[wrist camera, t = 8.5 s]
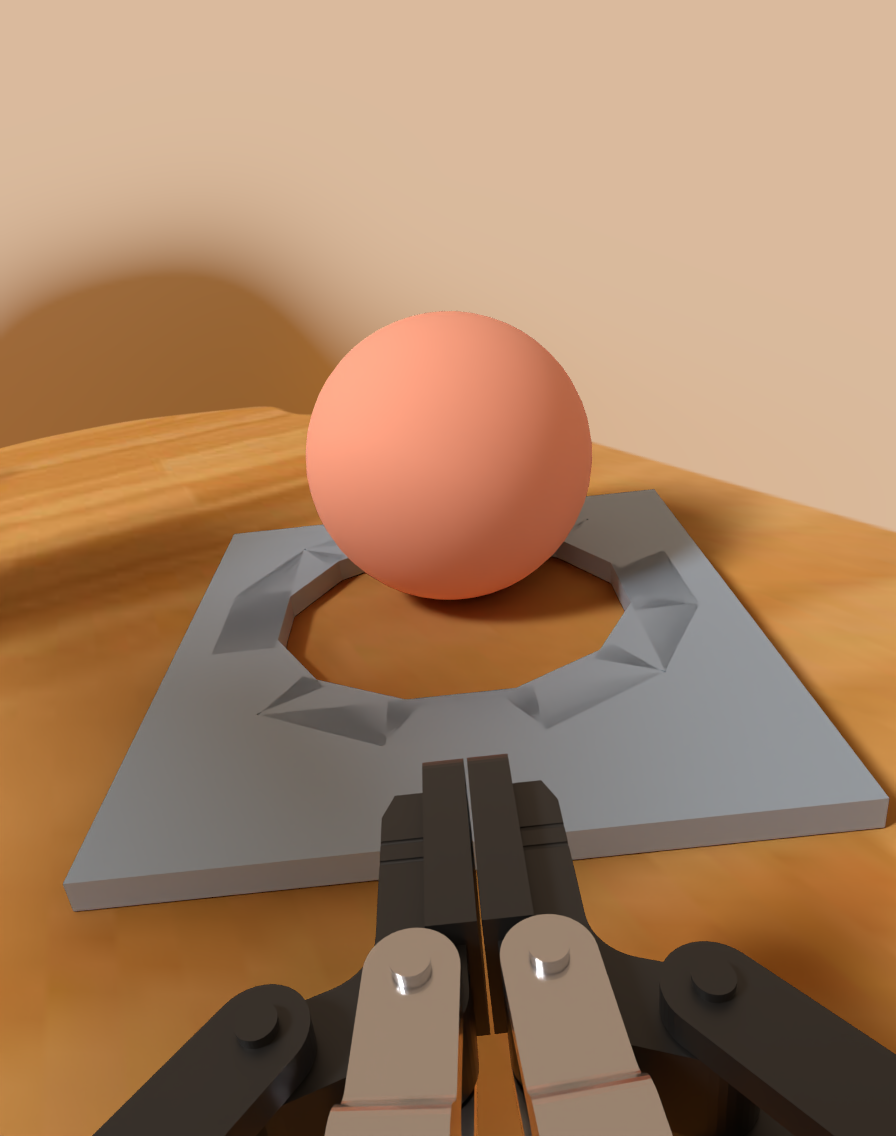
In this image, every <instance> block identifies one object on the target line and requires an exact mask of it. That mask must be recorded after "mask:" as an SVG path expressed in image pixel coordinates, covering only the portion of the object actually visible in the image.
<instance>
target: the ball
mask: <svg viewBox="0 0 896 1136" xmlns="http://www.w3.org/2000/svg"><path fill="white" fill-rule="evenodd" d="M591 465H592V443H591V438H590V431H589V425H588V420H587V416H586V413H585V410H584V407H583V404H582V401H581V399H580V397H579V395H578V393H577V391H576V389H575V387H574V385H573V383H572V381H571V379H570V378H569V376H568V375H567V373H566V372H565V371H564V369H563V368H562V366H561V365H560V364H559V363H558V362H557V361H556V360H555V358H554V357H553V356H552V355H551V354H550V353H549V352H548V351H547V350H546V349H545V348H543V347H542V346H541V345H540V344H539V343H538V342H536V341H535V340H534V339H533V338H531V337H530V336H528V335H527V334H525V333H524V332H522V331H521V330H519V329H517V328H515V327H513V326H511V325H509V324H507V323H504V322H502V321H499V320H496V319H493V318H490V317H487V316H483V315H478V314H474V313H467V312H458V311H439V312H430V313H424V314H419V315H414V316H410V317H407V318H404V319H402V320H399V321H396V322H394V323H392V324H390V325H388V326H386V327H384V328H381V329H379V330H378V331H376V332H374V333H373V334H371V335H370V336H368V337H367V338H365V339H364V340H363V341H361V342H360V343H359V344H358V345H356V346H355V347H354V348H353V349H352V350H351V351H350V352H349V353H348V354H347V355H346V356H345V357H344V358H343V359H342V360H341V361H340V363H339V364H338V366H337V367H336V368H335V369H334V371H333V372H332V374H331V375H330V376H329V378H328V379H327V381H326V383H325V384H324V386H323V388H322V390H321V392H320V394H319V396H318V399H317V402H316V404H315V406H314V409H313V413H312V416H311V420H310V424H309V428H308V433H307V444H306V467H307V477H308V482H309V487H310V492H311V495H312V498H313V501H314V504H315V507H316V510H317V512H318V515H319V517H320V519H321V521H322V523H323V525H324V526H325V528H326V530H327V532H328V533H329V534H330V536H331V537H332V539H333V540H334V541H335V543H336V544H337V546H338V547H339V548H340V550H341V551H342V552H343V553H344V554H345V555H346V556H347V557H348V558H349V559H350V560H351V561H352V562H353V563H354V564H355V565H357V566H358V567H359V568H360V569H362V570H363V571H364V572H365V573H367V574H368V575H370V576H371V577H373V578H375V579H377V580H378V581H380V582H382V583H383V584H385V585H387V586H389V587H392V588H394V589H396V590H399V591H401V592H404V593H408V594H411V595H415V596H418V597H424V598H431V599H444V600H457V599H466V598H474V597H478V596H483V595H487V594H491V593H494V592H496V591H499V590H502V589H504V588H507V587H509V586H511V585H513V584H515V583H516V582H518V581H520V580H522V579H524V578H525V577H527V576H528V575H529V574H531V573H532V572H534V571H535V570H536V569H538V568H539V567H540V566H541V565H542V564H543V563H544V562H545V561H546V560H547V559H549V558H550V557H551V556H552V555H553V554H554V553H555V552H556V550H557V549H558V548H559V547H560V545H561V544H562V543H563V542H564V541H565V539H566V538H567V536H568V534H569V533H570V531H571V529H572V528H573V526H574V525H575V522H576V520H577V518H578V516H579V514H580V511H581V509H582V507H583V504H584V502H585V498H586V494H587V491H588V487H589V481H590V473H591Z"/></svg>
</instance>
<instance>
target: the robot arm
mask: <svg viewBox="0 0 896 1136" xmlns="http://www.w3.org/2000/svg"><path fill="white" fill-rule="evenodd" d="M467 766H468V777H469V788H470V799H471V810H472V820H473V831H474V842H475V853H476V864H477V875H478V885H479V896H480V907H481V918H482V927H483V936H484V944H485V953H486V962H487V970H488V979H489V988H490V996H491V1005H492V1013H493V1022H494V1031H495V1034H499V1033H508V1040H509V1049H510V1058H511V1066H512V1075H513V1085H514V1092H515V1097H516V1102H517V1108H518V1113H519V1118H520V1124H521V1129H522V1134H523V1136H896V1054H894V1053H893V1052H891V1051H890V1050H888V1049H887V1048H885V1047H884V1046H882V1045H881V1044H879V1043H878V1042H876V1041H875V1040H873V1039H872V1038H870V1037H869V1036H867V1035H866V1034H864V1033H863V1032H861V1031H860V1030H858V1029H857V1028H855V1027H854V1026H852V1025H851V1024H849V1023H847V1022H846V1021H844V1020H843V1019H841V1018H840V1017H838V1016H837V1015H835V1014H834V1013H832V1012H831V1011H829V1010H828V1009H826V1008H825V1007H823V1006H822V1005H820V1004H819V1003H817V1002H816V1001H814V1000H813V999H811V998H810V997H808V996H807V995H805V994H804V993H802V992H801V991H799V990H798V989H796V988H795V987H793V986H792V985H790V984H789V983H787V982H786V981H784V980H783V979H781V978H780V977H778V976H777V975H775V974H774V973H772V972H771V971H769V970H768V969H766V968H765V967H763V966H762V965H760V964H758V963H757V962H755V961H754V960H752V959H751V958H749V957H748V956H746V955H745V954H743V953H742V952H740V951H738V950H736V949H735V948H732V947H730V946H727V945H724V944H720V943H716V942H708V941H699V942H693V943H688V944H685V945H682V946H681V947H679V948H677V949H675V950H674V951H673V952H671V953H670V954H669V955H668V956H667V958H666V959H665V961H664V962H660V961H655V960H650V959H644V958H639V957H634V956H630V955H627V954H624V953H622V952H619V951H617V950H615V949H613V948H612V947H610V946H608V945H607V944H606V943H604V942H603V941H602V940H601V939H600V938H599V937H598V936H596V934H595V933H594V932H593V930H592V929H591V928H590V926H589V924H588V922H587V919H586V916H585V913H584V908H583V904H582V900H581V895H580V891H579V887H578V883H577V878H576V874H575V870H574V865H573V861H572V857H571V853H570V848H569V846H568V840H567V835H566V831H565V827H564V823H563V818H562V814H561V810H560V805H559V801H558V798H557V797H556V796H555V795H554V794H553V793H552V792H551V791H550V789H549V788H548V787H547V786H546V785H545V784H544V783H543V782H542V780H537V781H528V782H518V783H512V777H511V771H510V765H509V759H508V754H498V755H488V756H479V757H470V758H467ZM422 791H423V793H416V794H407V795H397V796H394V798H393V800H392V801H391V803H390V805H389V806H388V808H387V810H386V811H385V813H384V815H383V817H382V822H381V846H380V866H379V884H378V904H377V925H376V939H375V945H374V947H373V948H372V950H371V951H370V953H369V954H368V956H367V958H366V960H365V962H364V966H363V967H362V969H361V970H360V971H359V972H358V973H357V974H356V975H354V976H353V977H352V978H351V979H350V980H348V981H346V982H345V983H343V984H342V985H340V986H338V987H336V988H334V989H331V990H329V991H327V992H324V993H322V994H319V995H317V996H314V997H312V998H310V999H307V1000H304V998H303V997H302V996H301V995H300V994H299V993H298V992H296V991H295V990H293V989H291V988H289V987H286V986H283V985H276V984H269V985H261V986H256V987H253V988H250V989H248V990H246V991H244V992H242V993H240V994H238V995H237V996H235V997H234V998H232V999H231V1000H230V1001H228V1002H227V1003H226V1004H225V1005H224V1006H223V1007H222V1008H221V1009H220V1010H219V1011H218V1012H217V1013H216V1014H215V1015H214V1016H213V1017H212V1018H211V1019H210V1020H209V1021H208V1022H207V1023H206V1024H205V1025H204V1026H203V1027H202V1028H201V1029H200V1030H199V1031H198V1032H197V1033H196V1034H195V1035H194V1036H193V1037H192V1038H191V1039H190V1040H188V1041H187V1042H186V1043H185V1044H184V1045H183V1046H182V1047H181V1048H180V1049H179V1050H178V1051H177V1052H176V1053H175V1054H174V1055H173V1056H172V1057H171V1058H170V1059H169V1060H168V1061H167V1062H166V1063H165V1064H164V1065H163V1066H162V1067H161V1068H160V1069H159V1070H158V1071H157V1072H156V1073H155V1074H154V1075H153V1076H152V1077H151V1078H150V1079H149V1080H148V1081H147V1082H146V1083H145V1084H144V1085H143V1086H142V1087H141V1088H140V1089H139V1090H138V1091H137V1092H136V1093H135V1094H134V1095H133V1096H132V1097H131V1098H130V1099H129V1100H128V1101H127V1102H126V1103H125V1104H124V1105H123V1106H122V1107H121V1108H120V1109H119V1110H118V1111H117V1112H116V1113H115V1114H114V1115H113V1116H112V1117H111V1118H110V1119H109V1120H108V1121H107V1122H106V1123H105V1124H104V1125H103V1126H102V1127H101V1128H100V1129H99V1130H98V1131H97V1132H96V1133H95V1134H94V1135H93V1136H477V1098H478V1092H477V1078H478V1073H479V1062H478V1049H477V1036H483V1035H490V1025H489V1014H488V1003H487V991H486V980H485V969H484V958H483V947H482V936H481V925H480V914H479V903H478V892H477V880H476V869H475V859H474V848H473V839H472V830H471V821H470V812H469V803H468V795H467V786H466V778H465V769H464V761H463V758H462V759H452V760H443V761H434V762H424V763H422Z"/></svg>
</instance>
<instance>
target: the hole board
mask: <svg viewBox="0 0 896 1136" xmlns="http://www.w3.org/2000/svg"><path fill="white" fill-rule="evenodd" d="M551 557H558V558H560V559H562V560H564V561H566V562H568V563H570V564H572V565H574V566H576V567H578V568H580V569H583V570H585V571H587V572H589V573H591V574H593V575H595V576H597V577H599V578H601V579H603V580H605V581H607V582H610V583H611V584H612V586H613V588H614V590H615V592H616V594H617V597H618V599H619V601H620V603H621V605H622V607H623V609H624V611H625V612H624V614H623V615H622V617H621V618H620V620H619V621H618V623H617V625H616V626H615V628H614V629H613V631H612V632H611V634H610V635H609V637H608V638H607V640H606V641H605V643H604V644H603V646H602V647H601V649H600V650H598V651H596V652H594V653H592V654H589V655H587V656H585V657H583V658H581V659H578V660H576V661H574V662H572V663H570V664H567V665H565V666H563V667H561V668H559V669H556V670H554V671H552V672H550V673H548V674H545V675H543V676H541V677H539V678H537V679H534V680H532V681H530V682H528V683H526V684H523V685H521V686H519V687H517V688H511V689H501V690H492V691H482V692H473V693H463V694H454V695H444V696H435V697H425V698H416V699H401V698H397V697H392V696H388V695H383V694H379V693H374V692H370V691H365V690H361V689H356V688H352V687H348V686H343V685H339V684H334V683H330V682H325V681H321V680H316V679H315V677H314V676H313V675H312V674H311V673H310V672H309V671H308V670H307V669H306V668H305V667H304V666H303V665H302V664H301V663H300V662H299V661H298V660H297V659H296V658H295V657H294V656H293V655H292V654H291V653H290V652H289V651H288V650H287V649H286V646H287V642H288V638H289V635H290V631H291V627H292V623H293V619H294V617H295V616H296V615H297V614H299V613H300V612H301V611H302V610H304V609H305V608H306V607H308V606H309V605H310V604H312V603H313V602H314V601H315V600H317V599H318V598H319V597H321V596H322V595H323V594H325V593H326V592H327V591H328V590H330V589H331V588H332V587H334V586H335V585H336V584H338V583H339V582H340V581H342V580H344V579H347V578H350V577H352V576H355V575H358V574H361V573H364V571H363V570H362V569H360V568H359V567H358V566H357V565H355V564H354V563H353V562H352V561H351V560H350V559H349V558H348V557H347V556H346V555H345V554H344V553H343V552H342V551H341V550H340V548H339V547H338V546H337V544H336V543H335V541H334V540H333V539H332V537H331V536H330V534H329V533H328V532H327V530H326V528H325V526H324V525H315V526H305V527H296V528H287V529H277V530H268V531H258V532H249V533H240V534H234V536H233V538H232V540H231V542H230V544H229V546H228V548H227V550H226V552H225V554H224V556H223V558H222V560H221V562H220V564H219V566H218V568H217V570H216V572H215V575H214V577H213V579H212V581H211V583H210V585H209V587H208V589H207V591H206V593H205V595H204V597H203V599H202V601H201V603H200V605H199V607H198V609H197V611H196V613H195V615H194V617H193V619H192V621H191V623H190V626H189V628H188V630H187V632H186V634H185V636H184V638H183V640H182V642H181V644H180V646H179V648H178V650H177V652H176V654H175V656H174V658H173V660H172V662H171V664H170V666H169V668H168V670H167V672H166V675H165V677H164V679H163V681H162V683H161V685H160V687H159V689H158V691H157V693H156V695H155V697H154V699H153V701H152V703H151V705H150V707H149V709H148V711H147V713H146V715H145V717H144V719H143V721H142V723H141V726H140V728H139V730H138V732H137V734H136V736H135V738H134V740H133V742H132V744H131V746H130V748H129V750H128V752H127V754H126V756H125V758H124V760H123V762H122V764H121V766H120V768H119V770H118V772H117V774H116V777H115V779H114V781H113V783H112V785H111V787H110V789H109V791H108V793H107V795H106V797H105V799H104V801H103V803H102V805H101V807H100V809H99V811H98V813H97V815H96V817H95V819H94V821H93V823H92V826H91V828H90V830H89V832H88V834H87V836H86V838H85V840H84V842H83V844H82V846H81V848H80V850H79V852H78V854H77V856H76V858H75V860H74V862H73V864H72V866H71V868H70V870H69V872H68V874H67V877H66V879H65V881H64V883H63V886H64V888H65V891H66V894H67V896H68V899H69V901H70V904H71V906H72V909H73V911H83V910H93V909H102V908H112V907H122V906H131V905H141V904H151V903H160V902H170V901H180V900H189V899H199V898H208V897H218V896H228V895H237V894H247V893H257V892H266V891H276V890H286V889H295V888H305V887H315V886H324V885H334V884H344V883H353V882H363V881H372V880H379V866H380V846H381V822H382V817H383V815H384V813H385V811H386V810H387V808H388V806H389V805H390V803H391V801H392V800H393V798H394V796H397V795H407V794H416V793H423V791H422V763H424V762H434V761H443V760H452V759H462V758H463V761H464V769H465V778H466V786H467V795H468V803H469V812H470V821H471V830H472V839H473V848H474V859H475V869H476V870H477V864H476V853H475V842H474V831H473V820H472V810H471V799H470V788H469V777H468V766H467V758H470V757H479V756H488V755H498V754H508V759H509V765H510V771H511V777H512V783H518V782H528V781H537V780H542V782H543V783H544V784H545V785H546V786H547V787H548V788H549V789H550V791H551V792H552V793H553V794H554V795H555V796H556V797H557V798H558V801H559V805H560V810H561V814H562V818H563V823H564V827H565V831H566V835H567V840H568V846H569V848H570V853H571V857H572V860H575V859H585V858H594V857H604V856H614V855H623V854H633V853H643V852H652V851H662V850H672V849H681V848H691V847H701V846H710V845H720V844H729V843H739V842H749V841H758V840H768V839H778V838H787V837H797V836H807V835H816V834H826V833H836V832H845V831H855V830H865V829H874V828H884V827H885V823H886V817H887V810H888V804H889V797H888V796H887V794H886V793H885V792H884V791H883V789H882V788H881V787H880V785H879V784H878V783H877V781H876V780H875V779H874V777H873V776H872V775H871V773H870V772H869V771H868V769H867V768H866V767H865V766H864V764H863V763H862V762H861V760H860V759H859V758H858V756H857V755H856V754H855V752H854V751H853V750H852V748H851V747H850V746H849V745H848V743H847V742H846V741H845V739H844V738H843V737H842V735H841V734H840V733H839V731H838V730H837V729H836V727H835V726H834V725H833V724H832V722H831V721H830V720H829V718H828V717H827V716H826V714H825V713H824V712H823V710H822V709H821V708H820V706H819V705H818V704H817V703H816V701H815V700H814V699H813V697H812V696H811V695H810V693H809V692H808V691H807V689H806V688H805V687H804V685H803V684H802V683H801V681H800V680H799V679H798V678H797V676H796V675H795V674H794V672H793V671H792V670H791V668H790V667H789V666H788V664H787V663H786V662H785V660H784V659H783V658H782V657H781V655H780V654H779V653H778V651H777V650H776V649H775V647H774V646H773V645H772V643H771V642H770V641H769V639H768V638H767V637H766V636H765V634H764V633H763V632H762V630H761V629H760V628H759V626H758V625H757V624H756V622H755V621H754V620H753V618H752V617H751V616H750V615H749V613H748V612H747V611H746V609H745V608H744V607H743V605H742V604H741V603H740V601H739V600H738V599H737V597H736V596H735V595H734V593H733V592H732V591H731V590H730V588H729V587H728V586H727V584H726V583H725V582H724V580H723V579H722V578H721V576H720V575H719V574H718V572H717V571H716V570H715V569H714V567H713V566H712V565H711V563H710V562H709V561H708V559H707V558H706V557H705V555H704V554H703V553H702V551H701V550H700V549H699V548H698V546H697V545H696V544H695V542H694V541H693V540H692V538H691V537H690V536H689V534H688V533H687V532H686V530H685V529H684V528H683V527H682V525H681V524H680V523H679V521H678V520H677V519H676V517H675V516H674V515H673V513H672V512H671V511H670V509H669V508H668V507H667V505H666V504H665V503H664V502H663V500H662V499H661V498H660V496H659V495H658V494H657V492H656V491H655V490H654V489H652V490H642V491H633V492H624V493H614V494H605V495H596V496H586V498H585V502H584V504H583V507H582V509H581V511H580V514H579V516H578V518H577V520H576V522H575V525H574V526H573V528H572V529H571V531H570V533H569V534H568V536H567V538H566V539H565V541H564V542H563V543H562V544H561V545H560V547H559V548H558V549H557V550H556V552H555V553H554V554H553V555H552V556H551Z"/></svg>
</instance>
